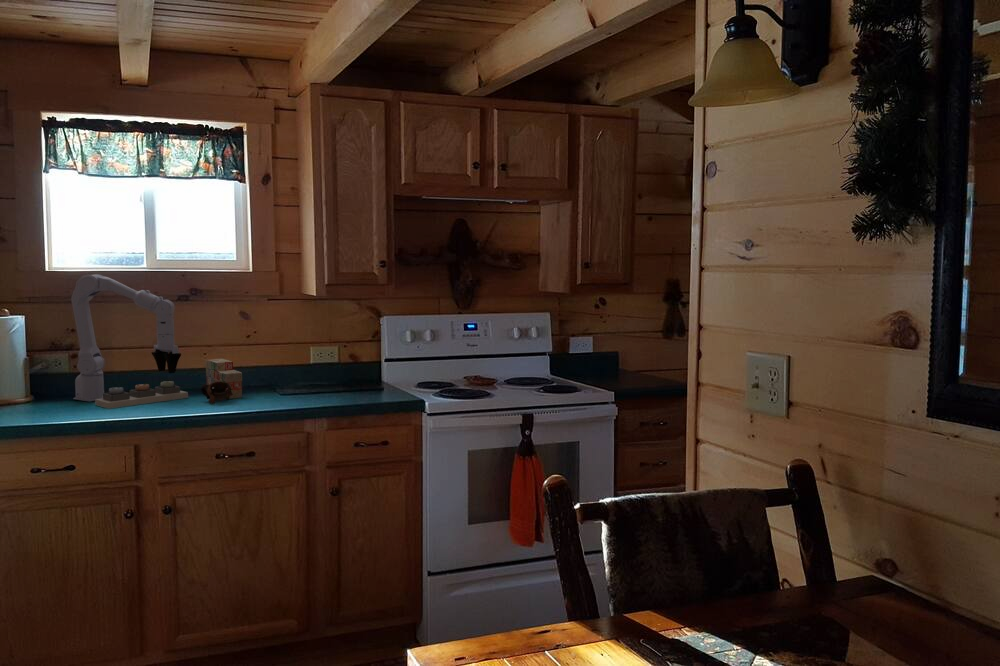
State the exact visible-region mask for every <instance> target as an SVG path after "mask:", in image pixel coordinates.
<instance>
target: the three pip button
mask: <svg viewBox="0 0 1000 666" xmlns="http://www.w3.org/2000/svg"><path fill="white" fill-rule="evenodd" d="M149 388H150V384H148V383H143V384H142V383H141V384H140V383H139V384H136V385H135V389H136V390H139V391H141V390H149Z"/></svg>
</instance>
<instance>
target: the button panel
mask: <svg viewBox="0 0 1000 666" xmlns="http://www.w3.org/2000/svg"><path fill="white" fill-rule="evenodd" d="M188 398H189V392H188V391H183V390H181V386H178V385H175V384H174V386H173V387H161V385H159V386H154V388H150V387H149V390H141V391H139V390H136V389H130V390H129V392H126V391H123V393H119V394H110V393H109V392H104V393H103V398H101V399H95V401H94V405H95V406H97V407H101V408H104V409H108V410H110V409H117V408H123V407H124V408H125V407H133V406H139V405H146V404H152V403H159V402H167V401H174V400H181V399H183V400H184V399H188Z"/></svg>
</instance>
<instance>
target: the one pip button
mask: <svg viewBox="0 0 1000 666" xmlns="http://www.w3.org/2000/svg"><path fill="white" fill-rule="evenodd" d="M174 385H175V381H173V380H171V381H170V380H169V381H166V380H165V381H161V382H160V386H161V387H173V386H174Z"/></svg>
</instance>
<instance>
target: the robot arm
mask: <svg viewBox="0 0 1000 666" xmlns="http://www.w3.org/2000/svg"><path fill="white" fill-rule="evenodd" d="M102 291H103V292H105V291H111V292H114V293H117V294H119V295H122V296H124V297H125V298H126V297H127V298H128V299H131V300H133V302H134V304H135V305H136V306H138V307H140V308H143V309H144V310H147V311H149V312H152V313H153V314H155V315H156V321H155V322H156V344H153V351H151V352H150V353H151V355H152V357H153V358H154V361H155V363H156V367H157V371H158V372H164V371H166V367H167V373H168V374H175V373H176V370H177V366H178V362H179V359H180V358H181V356H182V353H181V352H180V348H179V346H178V345H175V344H176V343H175V322H174V321H175V320H174V313H175V311H176V305H175V303H174V302H173V301H171V300H170V299H167V298H165V299H164V297H163V296H161V295H160V296H157V295H155V294H153V293H151V291H150V290H148V289H146V290H144V289H141V290H136V289H134V288H131V287H129V286H127V285H125V284H123V283H122V282H119V281H117V280H115V279H113V278H110V277H108V276H104V275H102V274H100V273H94V274H84V275H82V276H80V278H79V279H78V280H76V282H75V288H74V289H73V292H72V295H71V297H70V298H71V299H70V300H71V301H70V302H71V306H72V311H73V318H74V322H75V328H76V333H77V338H78V339H77V340H78V344H79V351H78V361H77V365H76V366H77V370H78V372H79V373H80V374H79V375H77V376H76V378H75V380H74V385H75V386H74V387H75V397H73V400H78V401H83V402H95V399H101V398H103V393H105V384H104V383H105V381H104V371H103V369H104V368H105V365H106V360H105V358H104V357H103V356H102V353H101V349H100V348H99V347H98V346H97V345H98V344H97V341H96V336H95V335H96V334H95V330H94V325H93V324H94V323H93V319H92V313H91V308H90V301H91V300H92V299H94V297H95V296H96V295H97V294H100V293H101V292H102Z"/></svg>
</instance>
